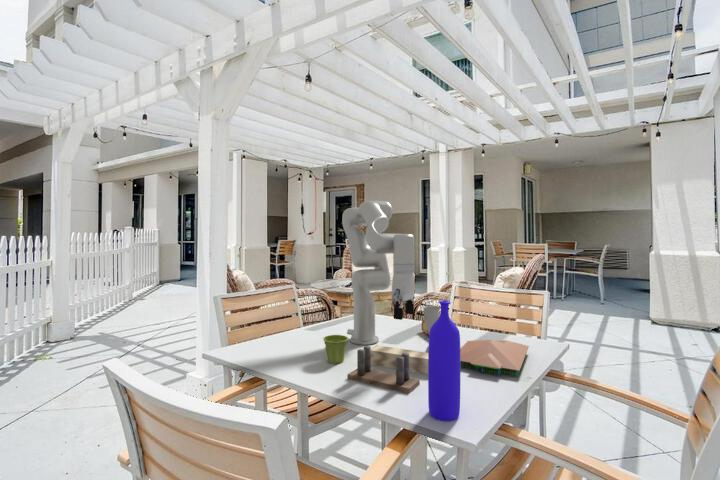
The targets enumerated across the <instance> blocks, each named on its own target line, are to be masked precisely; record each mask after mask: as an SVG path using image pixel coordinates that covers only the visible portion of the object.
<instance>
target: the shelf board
mask: <svg viewBox="0 0 720 480" xmlns="http://www.w3.org/2000/svg"><path fill="white" fill-rule="evenodd" d="M402 353H408V354H409V372H414V373H419V374H424V375H428V353H426V352H425V351H419V350H411V349H405V348H404V349H403V348H398V347H390V346H385V345H375V346H373V347H371V366H378V367H384V368H390V369H395V370H396V357H402Z"/></svg>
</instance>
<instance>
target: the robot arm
mask: <svg viewBox="0 0 720 480" xmlns="http://www.w3.org/2000/svg"><path fill="white" fill-rule="evenodd" d="M392 216H393V207H392V205H391V204H390V202H388V201H386V200H364V201H363V202H362V203H360V204H359V206H358V207H348V208H346V209H345V210H344V211H343V213H342V217H341V218H342V221H341V222H342V224H341V225H342V227H343V232H344V233H345V236H346V237H347V241H348V247H349V253H350V261H351V263H352V265H353V267H355V268H360V269H358V270H355V271H354V272H353V273H352V275H351V286H352V295H353V296H352V297H353V329H351V328H348V329H347V331H346V335H351V337H350V338H349V339H350V342H351V343H352V344H354V345H362V346H363V345H364V346H368V345H369V346H370V345H374V344H377V343H379V341H380V340H379V339H380V338H379V337H378V336H376V300H375V297H374V296H373V295H372V293H371V292H373V291H383V290H387V289H389V287H390V286H391V300H392V302H391V303H392V309H393V319H394V320H403V319H404V318H403V317H404V316H403V315H404V313H403V311H405V314H406V315H411V316H413V315H414V314H415V293H416V290H415V276H414V274H415V237H414V235H413V234H411V233H410V234H409V233H384V232H385V231H386V230H387V229H388V227H389V223H390V222H389V220H390V219H391V218H392ZM360 227H366V229H365V233H364V231H363V230H362V229H360ZM388 254H389V255H390V254H392V255H393V256H392V259H393V260H392V261H393V262H392V265H393V267H392V268H393V269H392V270H393V275H392V281H391V275H390V273H391V272H390V269H389V264H388V259H387V255H388ZM361 268H364V269H361ZM365 268H367V269H365ZM368 268H369V269H368ZM372 268H373V269H372ZM391 282H392V283H391ZM403 304H404V305H405V306H404V308H405V309H404V308H403V307H402V306H403ZM403 309H404V310H403Z"/></svg>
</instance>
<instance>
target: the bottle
mask: <svg viewBox="0 0 720 480" xmlns="http://www.w3.org/2000/svg"><path fill="white" fill-rule="evenodd" d="M438 304H439V305H440V313H439V319H438V320H437V321H436V322H435V323H434V324H433V325H432V327H431V328H430V331H429V335H428V346H429V351H428V374H427V375H428V376H427V378H428V379H427V380H428V382H427V385H428V387H427V388H428V389H427V394H428V399H427V400H428V401H427V402H428V412H429V413H428V414H429V415H430V416H431V417H432V418H433V419H436V420H438V421H443V422H452V421H456V420H457V419H458V418H459V416H460V411H461V368H460V349H461V335H460V333H461V332H460V330H459V329H458V327H457V325H456V324H455V322H454V321H453V320H452V319H451V318H450V316H449V315H450V314H449V305H450V304H451V301H449V300H442V299H441V300H438Z"/></svg>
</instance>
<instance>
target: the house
mask: <svg viewBox="0 0 720 480" xmlns="http://www.w3.org/2000/svg"><path fill="white" fill-rule="evenodd" d="M529 348H530V345H526V344H523V343H518V342H514V341H511V340H508V339H507V340H505V339H504V340H503V339H502V340H493V339H484V340H483V339H482V340H481V339H480V340H467V341H466V342H465V343H464V344H463V345H462V346H461V347H460V369H461V366H463V363H466V367H467V368H466V369H467V370H468V366H469V367H470V365H473V366H474V371H478V370H479V369H481V374H483V372H484V375H485V372H488V375H489V376H490V374H491V373H493V372H494V376H495V375H496V371H497V377H499V376H500V375H501V373H504V376H506V375H505V373H506V371H505V370H510V371H507V374H508V373H509V374H511V371H514V373H513V374H514V375H516V378H518V377H519V374H520V371H521V369H522V366H523V365H524V364H523V363H524V360H525V359H526V355H527V353H528V350H529ZM461 363H462V364H461ZM468 363H469V364H468ZM485 368H486V369H485ZM488 369H489V370H488ZM490 369H492V370H490ZM502 369H503V370H502ZM493 370H494V371H493ZM490 372H491V373H490Z"/></svg>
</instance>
